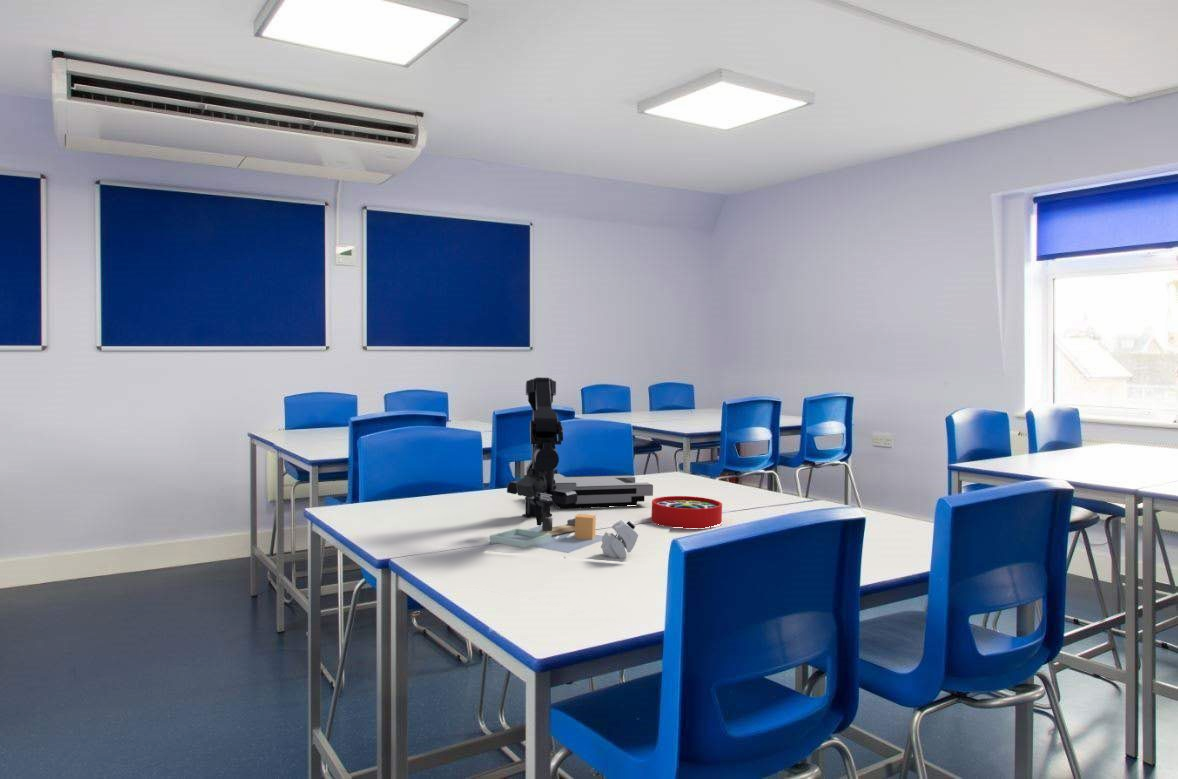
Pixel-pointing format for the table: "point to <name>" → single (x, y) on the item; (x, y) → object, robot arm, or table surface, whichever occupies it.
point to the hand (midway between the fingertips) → (539, 525)
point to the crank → (558, 529)
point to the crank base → (560, 541)
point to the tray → (502, 539)
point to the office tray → (602, 490)
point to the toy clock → (686, 511)
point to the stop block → (585, 526)
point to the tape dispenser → (619, 540)
